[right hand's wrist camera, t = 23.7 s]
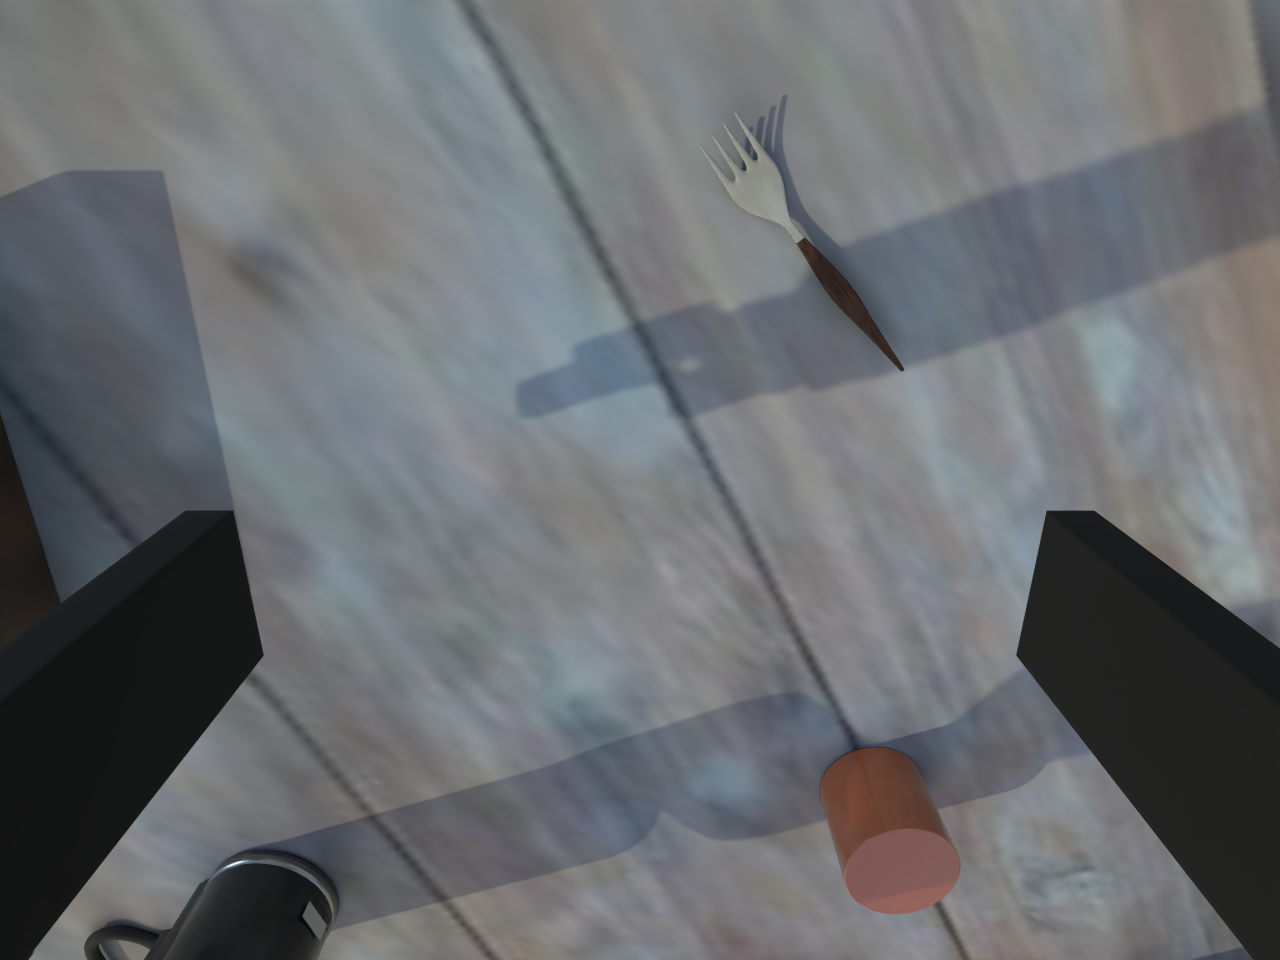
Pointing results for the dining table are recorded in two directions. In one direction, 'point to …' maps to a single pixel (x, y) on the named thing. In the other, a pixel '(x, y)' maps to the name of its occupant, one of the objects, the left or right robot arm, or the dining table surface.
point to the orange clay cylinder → (887, 832)
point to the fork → (791, 227)
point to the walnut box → (20, 556)
